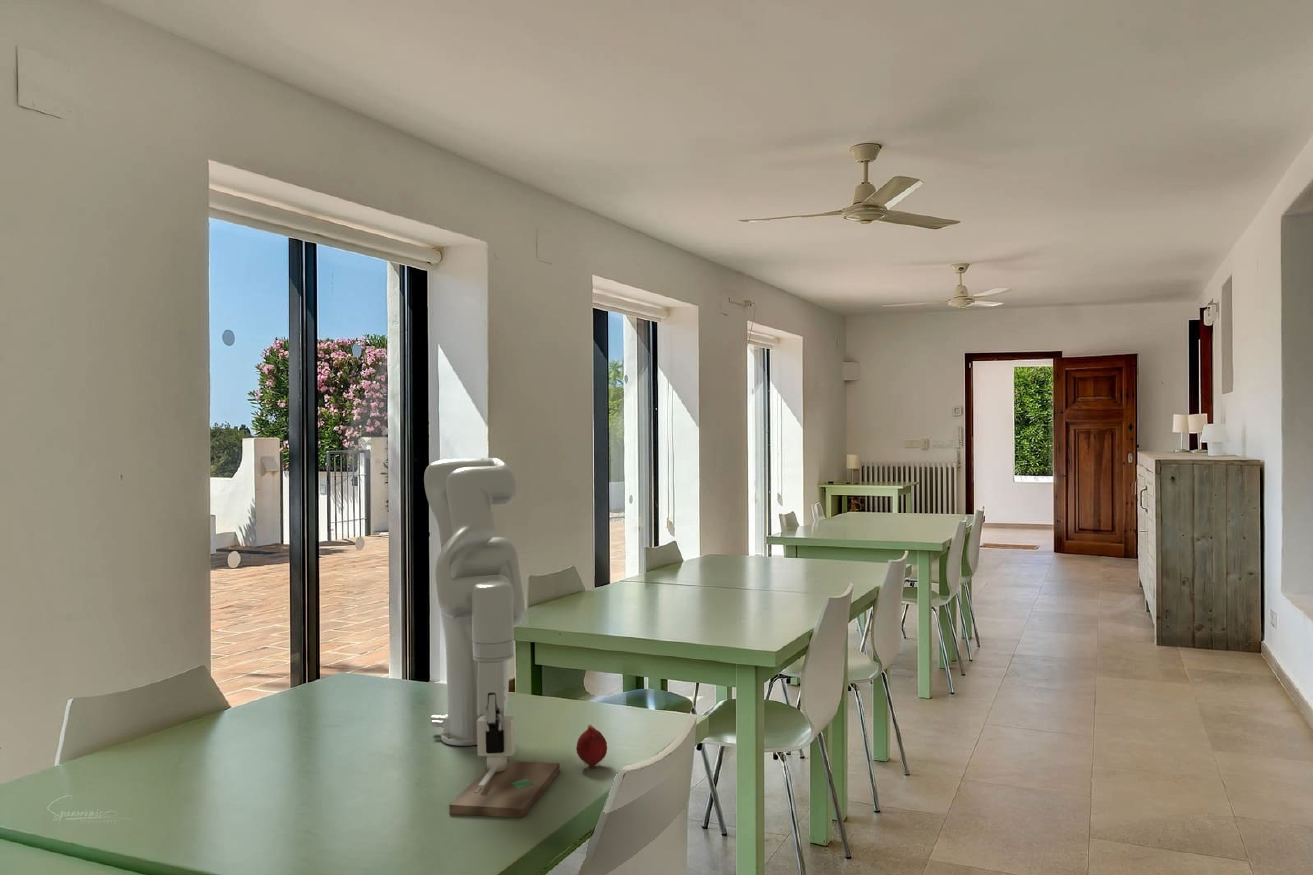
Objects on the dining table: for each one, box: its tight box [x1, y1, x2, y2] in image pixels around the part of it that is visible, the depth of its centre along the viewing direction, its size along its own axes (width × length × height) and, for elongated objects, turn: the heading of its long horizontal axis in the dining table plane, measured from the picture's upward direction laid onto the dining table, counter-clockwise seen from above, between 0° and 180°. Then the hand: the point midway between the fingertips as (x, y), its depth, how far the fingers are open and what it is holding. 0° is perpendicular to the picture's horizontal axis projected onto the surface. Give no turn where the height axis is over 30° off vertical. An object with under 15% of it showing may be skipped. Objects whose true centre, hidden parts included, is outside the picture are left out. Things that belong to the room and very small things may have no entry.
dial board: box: [448, 760, 561, 819], centre depth 162 cm, size 13×21×2 cm, turn 169°
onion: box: [575, 723, 608, 768], centre depth 173 cm, size 6×6×8 cm
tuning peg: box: [476, 715, 517, 788], centre depth 164 cm, size 12×6×9 cm, turn 175°
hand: (496, 747), depth 168 cm, fingers closed on tuning peg, 3 cm apart
